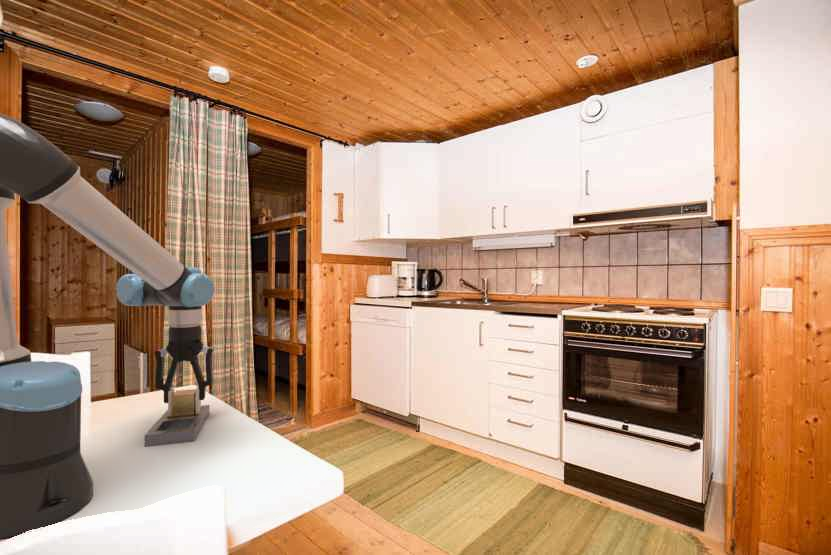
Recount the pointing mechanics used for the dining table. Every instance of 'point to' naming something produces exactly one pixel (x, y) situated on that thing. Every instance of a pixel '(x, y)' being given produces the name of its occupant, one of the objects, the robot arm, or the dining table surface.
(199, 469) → the dining table surface
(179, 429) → the rail
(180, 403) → the block
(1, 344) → the robot arm
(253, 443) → the dining table surface
